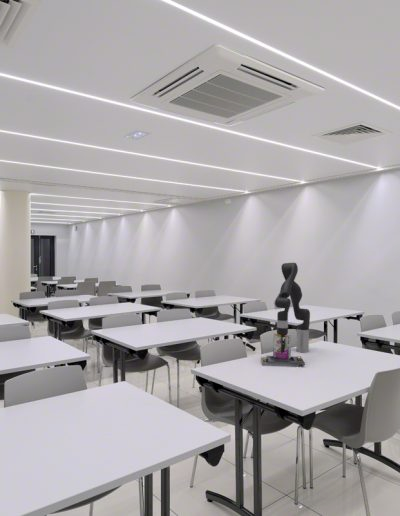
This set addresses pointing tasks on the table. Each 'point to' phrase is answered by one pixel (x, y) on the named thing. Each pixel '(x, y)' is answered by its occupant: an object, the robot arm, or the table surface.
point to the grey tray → (282, 361)
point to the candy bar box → (277, 347)
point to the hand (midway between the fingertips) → (282, 350)
